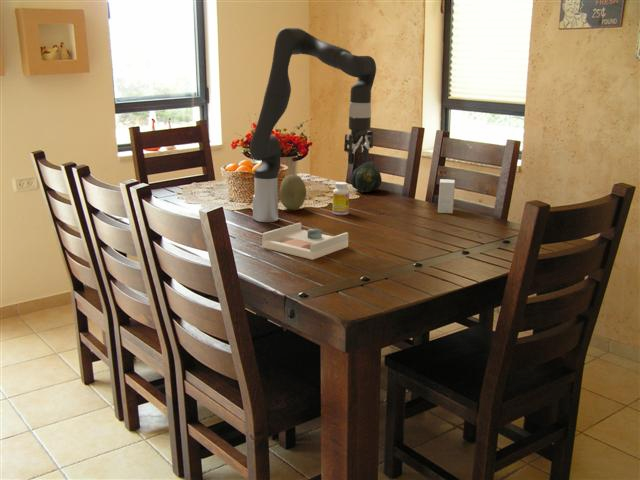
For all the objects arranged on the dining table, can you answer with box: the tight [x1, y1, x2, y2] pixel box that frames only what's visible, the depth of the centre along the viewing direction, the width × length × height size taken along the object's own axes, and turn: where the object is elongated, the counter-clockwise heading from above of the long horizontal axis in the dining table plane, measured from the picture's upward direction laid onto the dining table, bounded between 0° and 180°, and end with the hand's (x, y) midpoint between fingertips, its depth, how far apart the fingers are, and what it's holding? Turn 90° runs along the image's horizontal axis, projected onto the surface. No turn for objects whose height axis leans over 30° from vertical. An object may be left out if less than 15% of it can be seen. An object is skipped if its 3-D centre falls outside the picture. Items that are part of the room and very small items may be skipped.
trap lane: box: [261, 222, 349, 260], centre depth 246 cm, size 22×20×5 cm
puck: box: [307, 228, 323, 239], centre depth 250 cm, size 5×5×2 cm
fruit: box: [278, 174, 307, 210], centre depth 300 cm, size 11×11×15 cm
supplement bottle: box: [332, 181, 350, 216], centre depth 294 cm, size 7×7×13 cm
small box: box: [437, 178, 456, 214], centre depth 301 cm, size 8×6×13 cm
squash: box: [350, 160, 383, 193], centre depth 339 cm, size 14×15×15 cm
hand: (358, 162), depth 250 cm, fingers open, 8 cm apart
